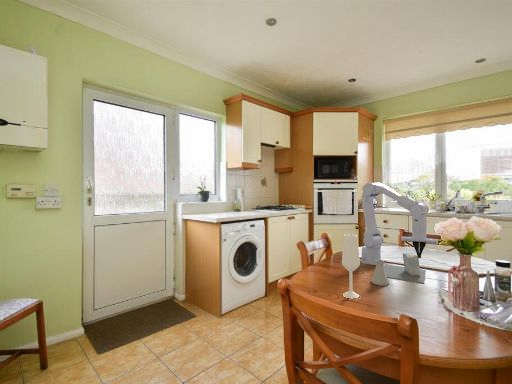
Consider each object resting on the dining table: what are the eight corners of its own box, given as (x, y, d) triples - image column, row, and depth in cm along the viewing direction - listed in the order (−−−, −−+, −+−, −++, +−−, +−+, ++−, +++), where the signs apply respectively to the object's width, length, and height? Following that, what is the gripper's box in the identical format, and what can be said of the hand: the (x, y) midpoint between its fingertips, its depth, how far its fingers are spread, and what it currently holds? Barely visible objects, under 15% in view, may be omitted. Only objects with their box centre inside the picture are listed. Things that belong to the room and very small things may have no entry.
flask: (381, 287, 110) (381, 264, 109) (367, 282, 116) (367, 259, 116) (392, 284, 113) (392, 261, 113) (378, 279, 119) (377, 257, 119)
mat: (378, 276, 123) (378, 275, 123) (385, 264, 139) (385, 264, 139) (423, 283, 113) (424, 282, 113) (425, 270, 129) (425, 269, 129)
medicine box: (421, 275, 120) (418, 256, 120) (410, 276, 121) (408, 257, 121) (414, 269, 128) (412, 252, 128) (404, 270, 129) (402, 253, 129)
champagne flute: (345, 290, 107) (345, 232, 106) (362, 295, 103) (362, 234, 102) (339, 296, 102) (338, 235, 101) (356, 301, 97) (356, 237, 97)
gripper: (400, 229, 123) (400, 257, 124) (438, 231, 115) (437, 262, 115) (402, 226, 129) (402, 254, 129) (438, 229, 121) (437, 258, 121)
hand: (419, 257), depth 123 cm, fingers closed
